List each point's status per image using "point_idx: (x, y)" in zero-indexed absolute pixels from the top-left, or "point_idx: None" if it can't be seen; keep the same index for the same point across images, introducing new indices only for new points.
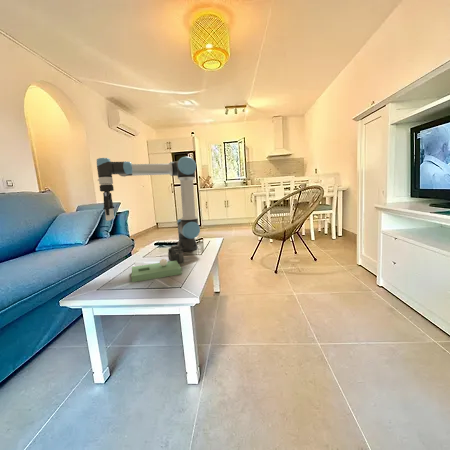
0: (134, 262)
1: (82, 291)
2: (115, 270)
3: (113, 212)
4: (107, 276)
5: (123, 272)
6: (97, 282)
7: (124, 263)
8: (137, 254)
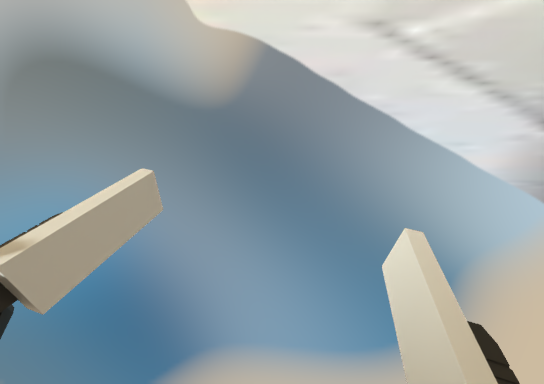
0: (358, 24)
1: None
2: (429, 115)
3: (82, 215)
4: (493, 146)
5: (503, 84)
6: (539, 177)
7: (339, 75)
8: (200, 2)
